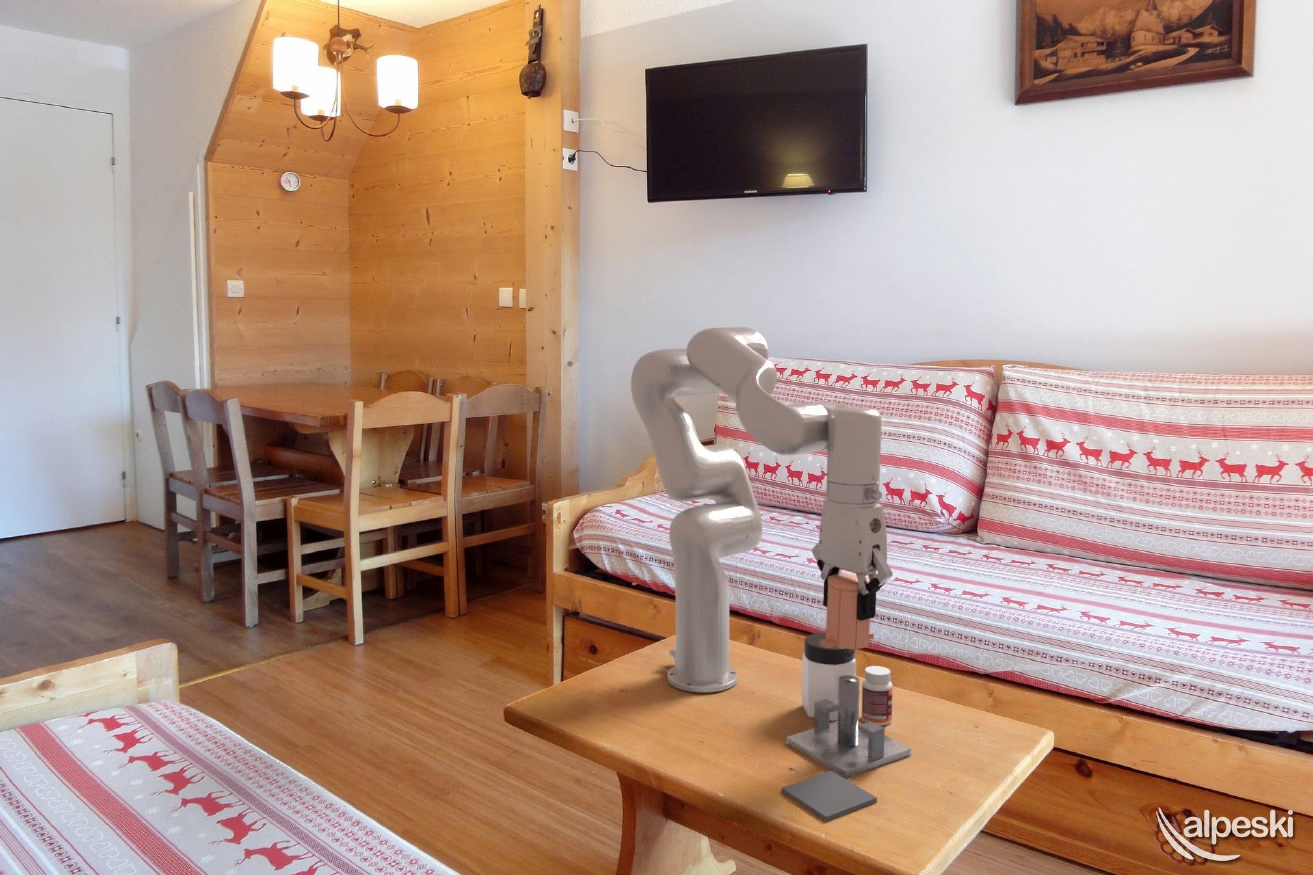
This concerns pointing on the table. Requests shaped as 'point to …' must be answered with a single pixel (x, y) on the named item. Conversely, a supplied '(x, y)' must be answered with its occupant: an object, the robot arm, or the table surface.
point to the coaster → (829, 795)
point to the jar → (824, 672)
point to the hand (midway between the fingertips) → (848, 610)
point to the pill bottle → (877, 696)
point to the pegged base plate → (847, 736)
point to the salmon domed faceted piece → (845, 614)
